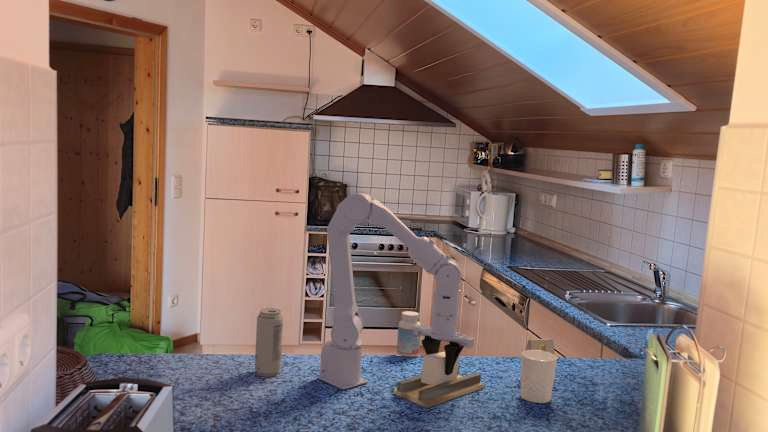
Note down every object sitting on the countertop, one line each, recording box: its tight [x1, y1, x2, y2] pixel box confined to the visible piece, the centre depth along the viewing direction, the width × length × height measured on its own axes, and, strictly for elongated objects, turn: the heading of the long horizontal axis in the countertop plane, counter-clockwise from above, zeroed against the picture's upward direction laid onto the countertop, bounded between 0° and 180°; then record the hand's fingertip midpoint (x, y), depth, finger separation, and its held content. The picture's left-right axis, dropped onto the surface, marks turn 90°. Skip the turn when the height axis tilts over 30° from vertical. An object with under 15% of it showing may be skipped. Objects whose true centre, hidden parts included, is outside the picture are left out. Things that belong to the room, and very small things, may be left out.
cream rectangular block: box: [421, 351, 460, 386], centre depth 148 cm, size 4×10×6 cm, turn 144°
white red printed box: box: [524, 338, 556, 355], centre depth 161 cm, size 4×7×10 cm, turn 107°
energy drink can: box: [254, 307, 284, 377], centre depth 153 cm, size 6×6×15 cm
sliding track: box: [393, 366, 484, 409], centre depth 149 cm, size 10×20×3 cm, turn 135°
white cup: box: [520, 350, 558, 404], centre depth 148 cm, size 8×8×10 cm
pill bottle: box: [396, 310, 422, 358], centre depth 174 cm, size 6×6×11 cm
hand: (440, 371), depth 148 cm, fingers closed on cream rectangular block, 4 cm apart
